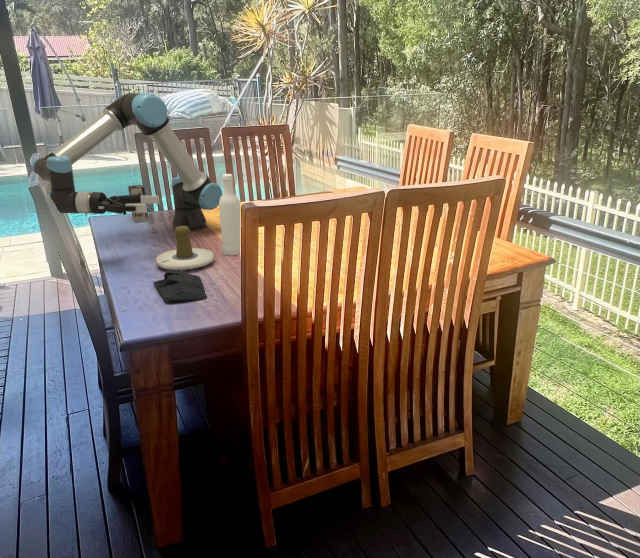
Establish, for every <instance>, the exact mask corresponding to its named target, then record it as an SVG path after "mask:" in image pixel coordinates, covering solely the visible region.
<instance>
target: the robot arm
mask: <svg viewBox="0 0 640 558" xmlns="http://www.w3.org/2000/svg"><path fill="white" fill-rule="evenodd" d="M129 126H130V127H131V126H137V128H138V129H139V131H140V132H141V133H142V134H143V136H144V137H147V138H148V137H149V138H150V139H151V141H152V142H153V143H154V145H155V146H156V148H158V150H159V152H160V153H161V155H163V157H164V158H165V160H166V161H167V162H168V164H169V166H171V168H172V169H173V171H174V172H175V174H176V175H177V176H175V177H173V178H172V180H171V188H172V195H173V204H174V205H173V207H174V214H173V218H172V223H171V224H172V229H173V230H175V228H176V227H178V226H187V227H188V228H189V230H191V231H197V230H196V229H198V230H202V229H205V228H206V227H207V226H208V225H207V219H206V217H205V215H204V212H203V210H205V211H212V210H215V209H216V208H218V207H219V200H220V197H221V196H222V195H223V189H222V188H221V186H220V185H219V184H217V183H216V182H213V181H212V180H211V179H210V177H209V176H208V174H207V173H206V172H203V171H200V168H198V166H197V164H196V163H195V162H194V160H193V159H192V157H191V156H190V154H189V152H188V151H187V150H186V148H185V146H183V144H182V142H181V141H180V140H179V138H178V137H177V135H176V134H175V131H174V130H173V129H172V128H171V126H170V118H169V115H168V108H167V105H166V103H165V102H164V100H163V99H162V98H161V97H159V96H158V95H157V94H153V93H149V92H141V93H139V92H137V93H136V92H129V93H125V94H122V96H119V97H118V98H117V99H116V100H113V102H111V103H110V104H108V105H107V106H106V107H104V108H103V109H102V113H101V114H100V115H99V116H98V117H97V118H95V119H94V120H92V121H91V122H89V124H87V125H85V126H84V127H83V128H82V129H80V130H79V131H78V132H76V133H75V134H74V135H73V136H71V137H70V138H68V139H67V140H66V141H64V142H63V143H62V144H60V145H59V146H58V147H56V148H55V149H54V150H53V151H51V152H50V153H48V154H47V155H45V156H44V157H40V158H36V159H35V160H34V161H32V164H31V168H30V169H31V172H32V173H33V172H35V173H37V174H38V175H39V176H40V177H41V178H42V179H43V180H42V179H41V180H42V181H47V182H49V184H50V190H51V191H48V192H47V193H49V195H50V197H51V199H52V200H53V202H54V203H55V205H56V207H57V209H58V211H59V212H60V213H59V214H63V215H64V214H84V216H87V215H88V214H95V215H96V214H97V215H98V214H99V215H103V214H105V213H106V212H107V213H113V214H119V215H121V214H122V215H124V216H125V215H127V213H132V212H145V213H146V212H147V213H148V207H147V208H146V205H147V204H149V205H152V204H154V205H157V204H160V196H159V195H145V196H141V193H139V194H138V195H129V194H128V195H127V194H126V195H113V196H109V197H107V196H106V193H104V192H103V191H102V192H101V191H93V192H92V191H76V187H75V179H74V173H73V166H72V165H74V164H75V163H76V162H77V161H79V160H80V159H81V158H82V157H84V156H86V154H88V153H89V152H91V151H92V150H93V149H95V148H96V147H97V146H99V145H100V144H102V142H104V141H106V140H107V138H109V137H110V136H111V135H113V134H114V133H115V132H117V131H119V132H122V131H124V129H125V128H127V127H129ZM133 203H145V204H133ZM204 227H205V228H204ZM201 228H202V229H201Z"/></svg>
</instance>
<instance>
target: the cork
mask: <svg viewBox="0 0 640 558" xmlns="http://www.w3.org/2000/svg"><path fill="white" fill-rule="evenodd" d="M174 233H175V236H176V249H177V250H176V249H175V250H176V257H177V258H179V259H186V258H191V257H193V256H194V255H193V251H192V248H193V247H192V244H191V239H190V233H191V231H190V230H189V228H188V227H187V226H178V227H176V228H175V229H174Z"/></svg>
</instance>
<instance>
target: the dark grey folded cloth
mask: <svg viewBox="0 0 640 558" xmlns="http://www.w3.org/2000/svg"><path fill="white" fill-rule="evenodd" d="M163 275H164V276H163V279H159V280H155V281H153V285H154V286H155V289H156V291H157V292H158V293H159V294H160V295H161V296H162V298H163V300H165V301H166V302H168V303H172V302H173V301H174V302H181V301H182V300H191V301H198V300H197V299H202V300H204V299H203V298H205V297H207V298H208V295H207V293H206V294H205V291H206V287H205V286H204V283H203V282H202V279H200V278H201V277H200V275H196V274H191V273H189V272H188V271H181V270H172V269H166V270H165V272H164V274H163ZM204 289H205V290H204ZM206 295H207V296H206ZM205 299H206V298H205ZM174 302H173V303H174Z"/></svg>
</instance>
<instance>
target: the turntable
mask: <svg viewBox="0 0 640 558" xmlns="http://www.w3.org/2000/svg"><path fill="white" fill-rule="evenodd" d="M176 250H177V248H176V249H171V250H168V251H164V252H162V253H160V254H159V255H157V257H156V258H155V259H156V265H157V266H158V267H160V268H162V269H173V270H183V269H192V268H197V269H199V268H198V267H200V268H202V267H205V266H207V265H210V263H212V262H213V261H214V259H215V258H214V257H215V256H214V253H213V251H211V250H209V249H205V248H197V247H192V251H193V255H194V256H193V257H191V258H186V259H179V258H177V257H176ZM201 266H202V267H201Z"/></svg>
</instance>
